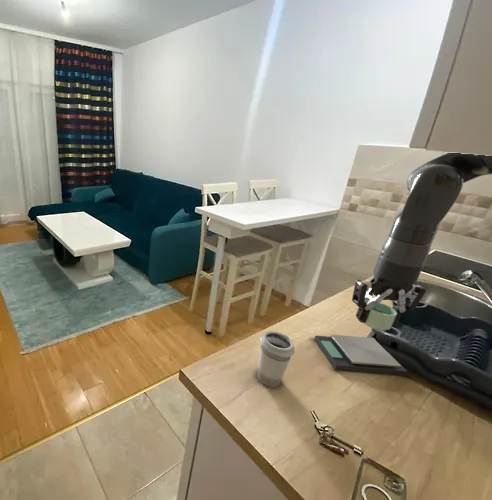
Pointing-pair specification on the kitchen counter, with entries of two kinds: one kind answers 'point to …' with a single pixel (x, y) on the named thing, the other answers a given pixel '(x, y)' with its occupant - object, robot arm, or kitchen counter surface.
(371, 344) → the scale pan
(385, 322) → the bowl
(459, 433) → the kitchen counter surface
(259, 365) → the cup
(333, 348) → the scale
